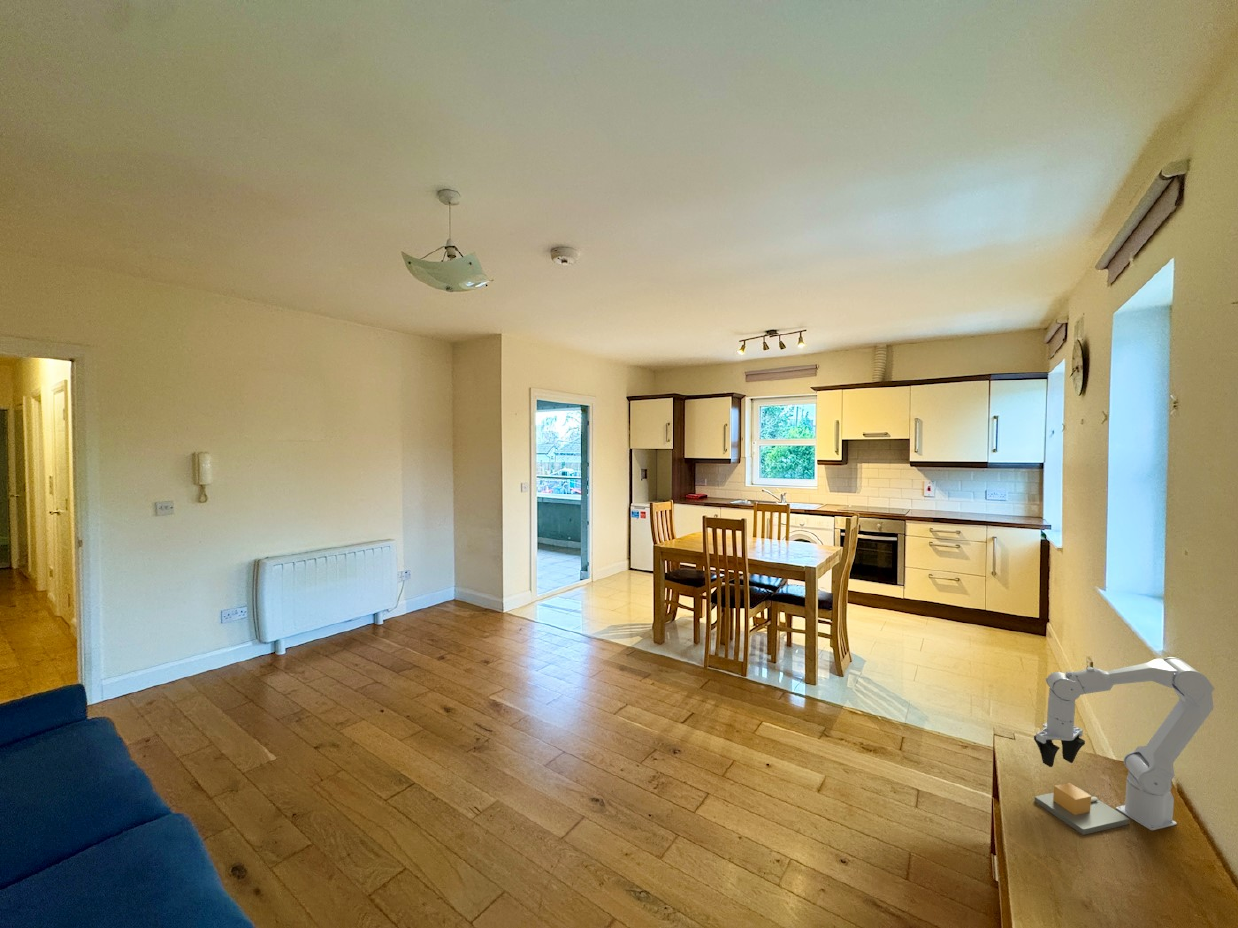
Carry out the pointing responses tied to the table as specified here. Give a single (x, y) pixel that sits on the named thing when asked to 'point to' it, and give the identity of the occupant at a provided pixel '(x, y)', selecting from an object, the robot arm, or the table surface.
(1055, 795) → the light wooden brick
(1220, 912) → the table surface
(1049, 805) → the flat gray rectangular board
